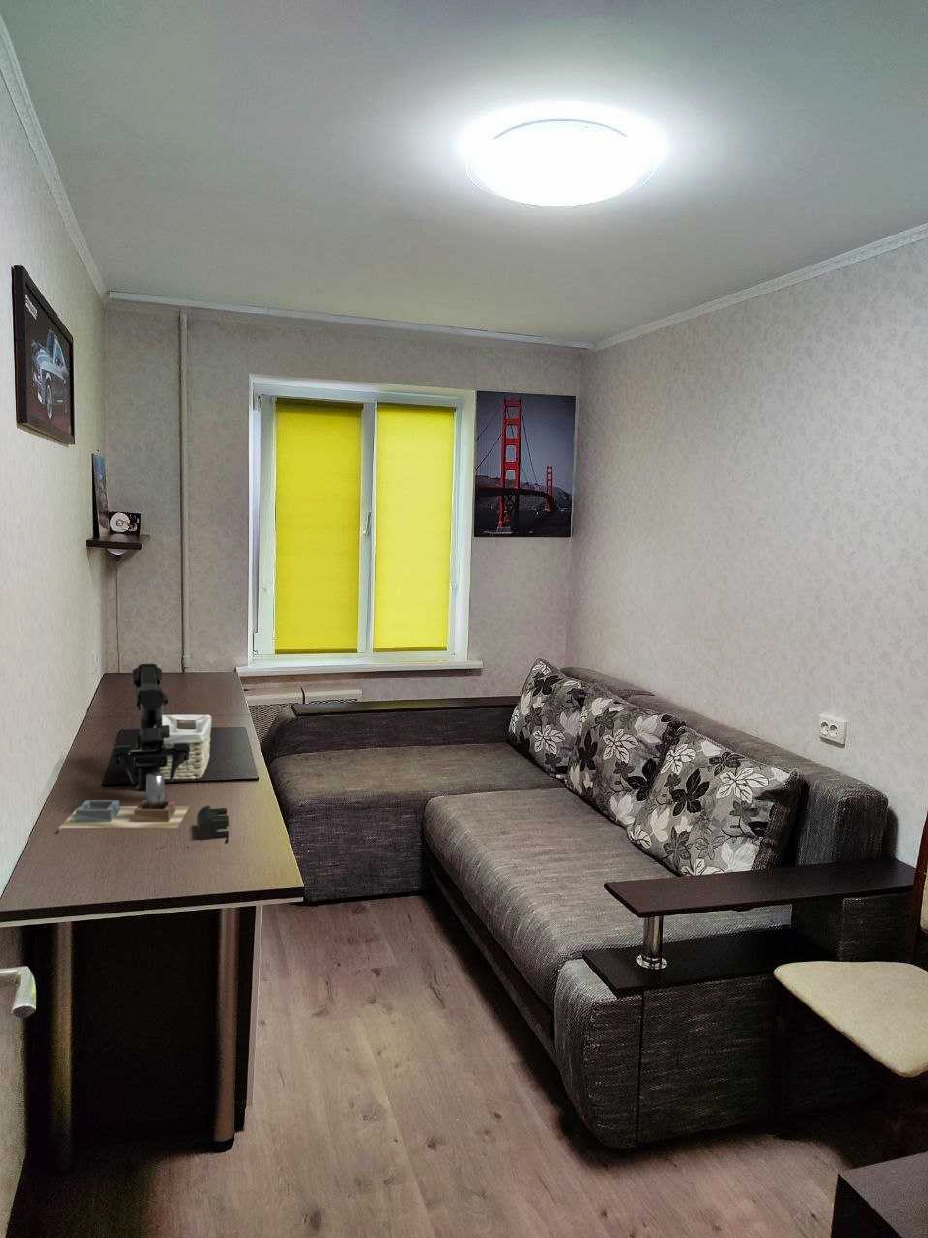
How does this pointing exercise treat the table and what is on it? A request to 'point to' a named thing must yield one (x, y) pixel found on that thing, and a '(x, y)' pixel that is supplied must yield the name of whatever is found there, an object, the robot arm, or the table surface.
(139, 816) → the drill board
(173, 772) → the robot arm
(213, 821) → the end cap
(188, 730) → the storage basket
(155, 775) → the grey long rounded piece
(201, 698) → the table surface
